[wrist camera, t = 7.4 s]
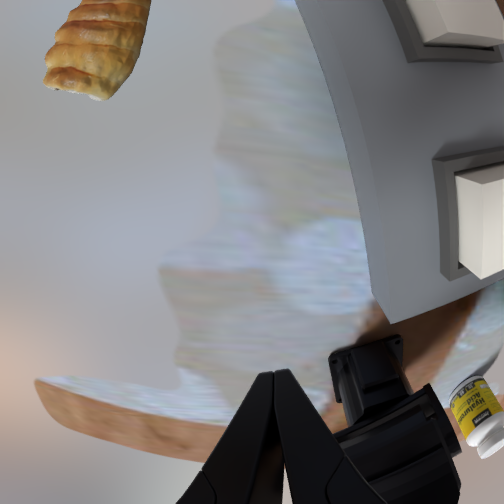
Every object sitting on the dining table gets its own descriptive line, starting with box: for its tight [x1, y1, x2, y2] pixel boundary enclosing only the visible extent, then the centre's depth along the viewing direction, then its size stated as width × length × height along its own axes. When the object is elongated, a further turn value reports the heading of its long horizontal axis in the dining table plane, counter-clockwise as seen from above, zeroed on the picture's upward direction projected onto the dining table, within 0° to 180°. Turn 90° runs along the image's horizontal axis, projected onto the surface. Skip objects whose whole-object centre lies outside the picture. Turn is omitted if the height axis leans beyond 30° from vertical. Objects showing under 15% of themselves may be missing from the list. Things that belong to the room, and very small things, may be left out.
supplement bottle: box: [449, 376, 504, 459], centre depth 21 cm, size 5×5×10 cm
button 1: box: [454, 161, 504, 279], centre depth 12 cm, size 5×5×3 cm
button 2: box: [405, 0, 504, 49], centre depth 7 cm, size 5×5×3 cm
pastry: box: [43, 0, 151, 101], centre depth 12 cm, size 9×7×4 cm
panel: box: [295, 0, 504, 324], centre depth 12 cm, size 24×14×5 cm, turn 17°
